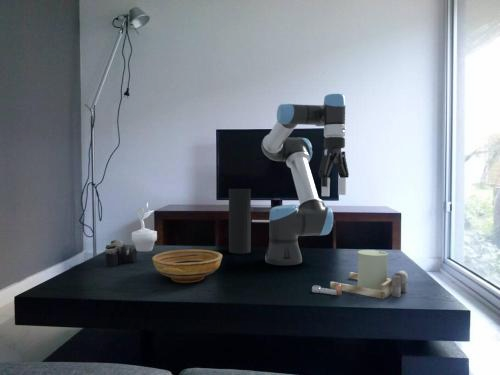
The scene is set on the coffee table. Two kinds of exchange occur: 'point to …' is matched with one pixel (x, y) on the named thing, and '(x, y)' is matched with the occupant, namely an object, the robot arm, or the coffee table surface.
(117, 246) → the camera
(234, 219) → the vase
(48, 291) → the coffee table surface
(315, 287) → the crank handle
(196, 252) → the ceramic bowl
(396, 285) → the wooden frame
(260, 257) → the coffee table surface
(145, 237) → the potted plant
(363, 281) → the can
